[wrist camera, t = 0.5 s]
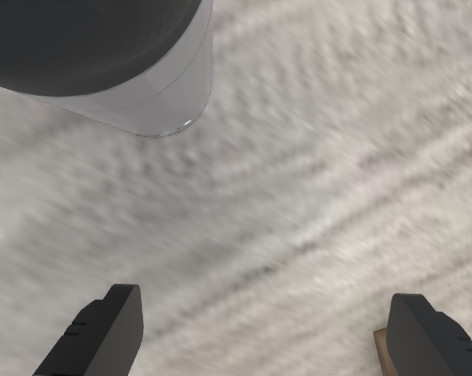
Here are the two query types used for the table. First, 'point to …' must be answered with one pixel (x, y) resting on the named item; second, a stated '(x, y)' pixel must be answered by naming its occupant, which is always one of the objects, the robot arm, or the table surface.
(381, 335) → the walnut block
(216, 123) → the table surface
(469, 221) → the table surface
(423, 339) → the robot arm
